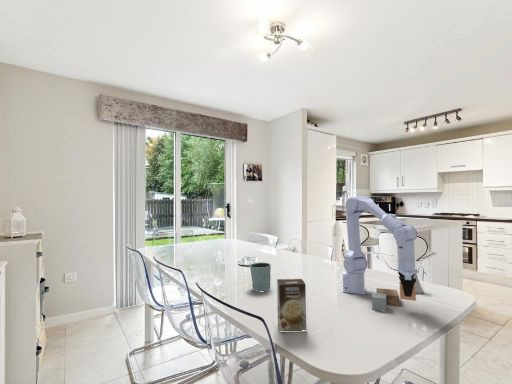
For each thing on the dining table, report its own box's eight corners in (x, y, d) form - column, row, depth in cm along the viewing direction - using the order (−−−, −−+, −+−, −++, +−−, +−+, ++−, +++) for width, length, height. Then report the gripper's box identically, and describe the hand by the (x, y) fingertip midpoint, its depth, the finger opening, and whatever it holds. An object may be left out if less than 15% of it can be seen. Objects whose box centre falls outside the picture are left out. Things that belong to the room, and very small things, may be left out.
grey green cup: (269, 293, 131) (268, 267, 131) (248, 292, 133) (247, 267, 133) (272, 286, 141) (272, 262, 141) (253, 285, 143) (252, 262, 143)
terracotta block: (400, 299, 105) (400, 285, 105) (399, 294, 110) (399, 281, 110) (415, 300, 103) (415, 287, 103) (414, 296, 107) (414, 283, 108)
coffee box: (279, 333, 93) (278, 284, 93) (277, 324, 99) (276, 279, 99) (307, 332, 93) (305, 283, 93) (303, 323, 99) (301, 278, 100)
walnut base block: (377, 304, 115) (377, 294, 115) (376, 297, 122) (376, 288, 122) (399, 306, 112) (399, 296, 112) (397, 299, 120) (396, 289, 120)
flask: (414, 295, 123) (413, 272, 123) (401, 289, 130) (400, 268, 130) (427, 293, 125) (426, 270, 125) (414, 288, 132) (413, 266, 132)
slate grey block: (372, 309, 109) (371, 297, 109) (372, 305, 114) (372, 292, 114) (386, 311, 107) (386, 298, 107) (386, 306, 112) (385, 294, 112)
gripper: (420, 263, 98) (421, 301, 98) (416, 254, 111) (417, 288, 111) (397, 261, 101) (399, 299, 101) (396, 253, 114) (397, 286, 114)
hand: (407, 293), depth 106 cm, fingers closed on terracotta block, 5 cm apart
